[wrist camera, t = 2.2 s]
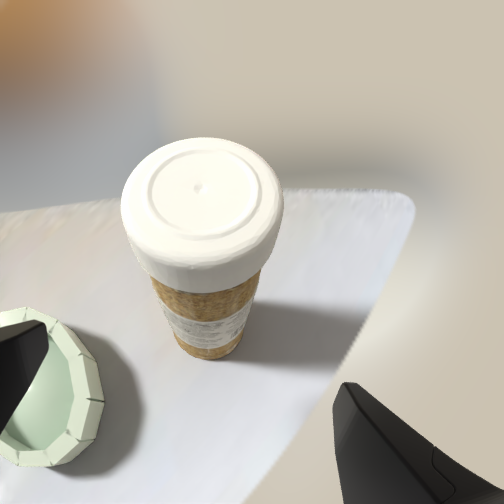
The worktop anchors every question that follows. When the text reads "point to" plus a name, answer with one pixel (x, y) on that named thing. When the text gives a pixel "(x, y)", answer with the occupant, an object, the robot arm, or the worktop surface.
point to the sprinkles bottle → (203, 235)
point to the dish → (54, 400)
